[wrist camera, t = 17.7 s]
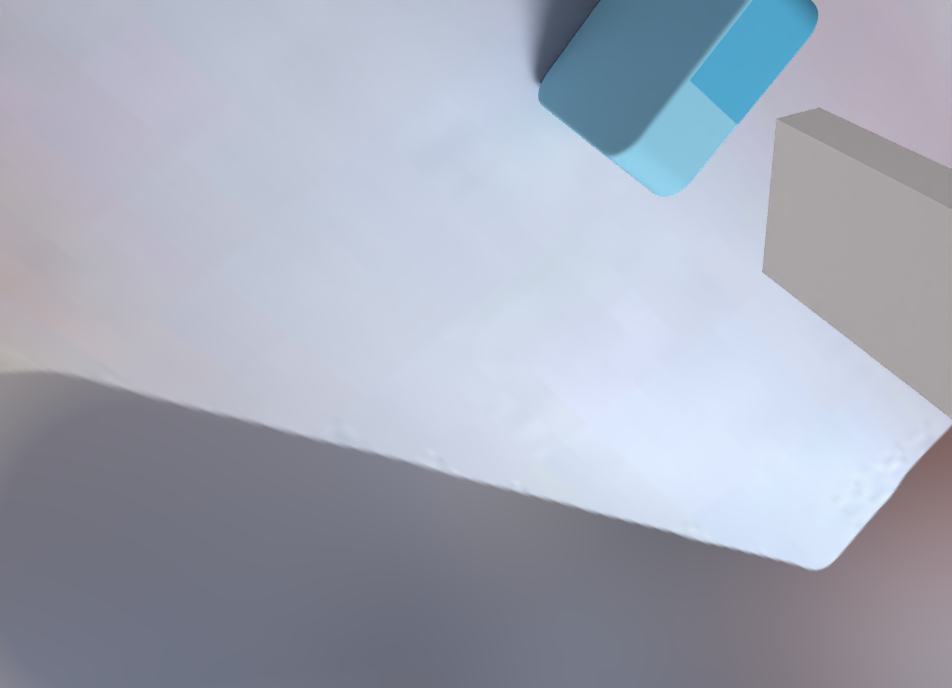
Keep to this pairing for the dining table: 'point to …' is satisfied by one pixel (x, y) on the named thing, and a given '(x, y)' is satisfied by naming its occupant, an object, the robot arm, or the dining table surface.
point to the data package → (671, 78)
